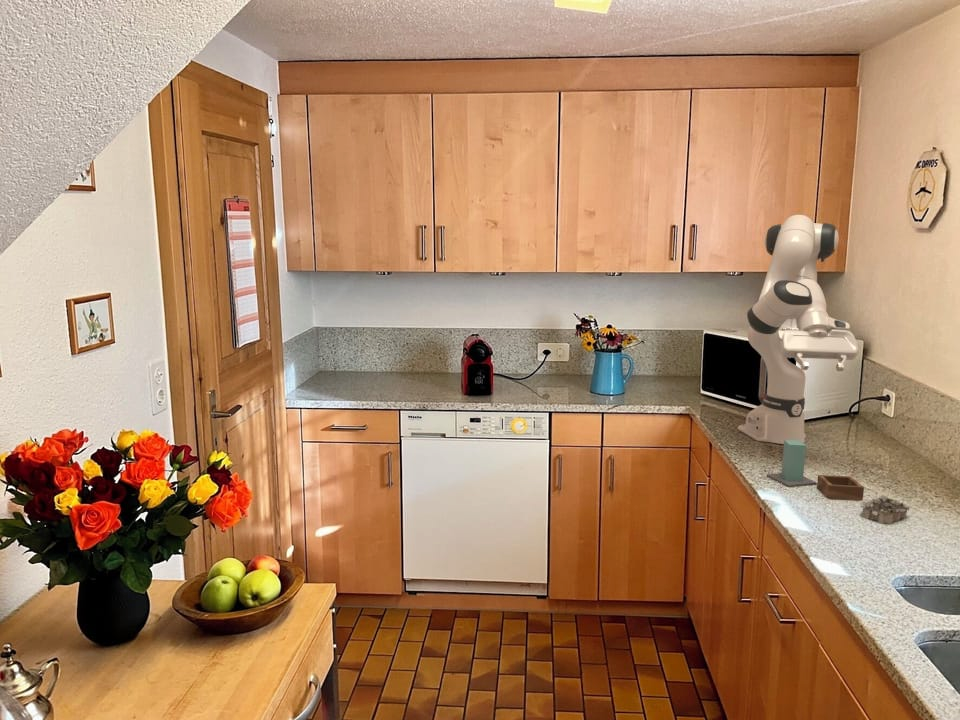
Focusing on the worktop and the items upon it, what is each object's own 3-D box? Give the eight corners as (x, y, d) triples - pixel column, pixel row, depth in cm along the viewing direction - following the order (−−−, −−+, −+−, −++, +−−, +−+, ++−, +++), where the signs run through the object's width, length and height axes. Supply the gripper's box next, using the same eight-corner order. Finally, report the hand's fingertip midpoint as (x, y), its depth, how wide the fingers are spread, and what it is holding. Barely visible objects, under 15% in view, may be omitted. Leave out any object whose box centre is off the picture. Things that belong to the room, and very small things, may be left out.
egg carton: (886, 527, 177) (888, 510, 177) (855, 516, 184) (857, 500, 183) (912, 518, 183) (914, 502, 182) (881, 508, 189) (883, 492, 188)
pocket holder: (816, 487, 202) (818, 474, 202) (849, 489, 201) (851, 476, 201) (828, 498, 194) (829, 485, 193) (862, 500, 193) (864, 487, 193)
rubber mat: (766, 476, 210) (766, 474, 210) (793, 473, 213) (793, 471, 213) (788, 487, 202) (789, 485, 202) (816, 484, 205) (816, 482, 204)
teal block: (781, 475, 210) (784, 440, 208) (797, 476, 209) (801, 440, 207) (785, 480, 205) (789, 444, 203) (802, 481, 205) (806, 445, 203)
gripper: (779, 321, 216) (787, 361, 208) (855, 323, 214) (865, 364, 206) (773, 334, 221) (780, 374, 213) (847, 337, 219) (856, 377, 211)
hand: (822, 369), depth 209 cm, fingers open, 8 cm apart
